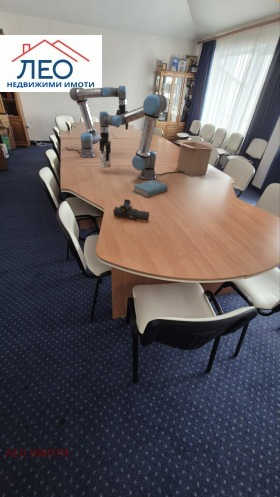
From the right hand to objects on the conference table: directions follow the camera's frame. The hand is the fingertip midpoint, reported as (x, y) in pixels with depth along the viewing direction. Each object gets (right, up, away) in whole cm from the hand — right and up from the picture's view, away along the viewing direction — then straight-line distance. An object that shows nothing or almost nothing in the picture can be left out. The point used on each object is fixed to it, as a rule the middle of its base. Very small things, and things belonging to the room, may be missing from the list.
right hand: (105, 160), depth 205 cm
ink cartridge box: (0, -5, +4) cm, 7 cm away
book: (+41, -36, -26) cm, 60 cm away
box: (+85, -3, +23) cm, 88 cm away
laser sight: (+26, -63, -64) cm, 94 cm away
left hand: (+13, +46, +30) cm, 57 cm away
